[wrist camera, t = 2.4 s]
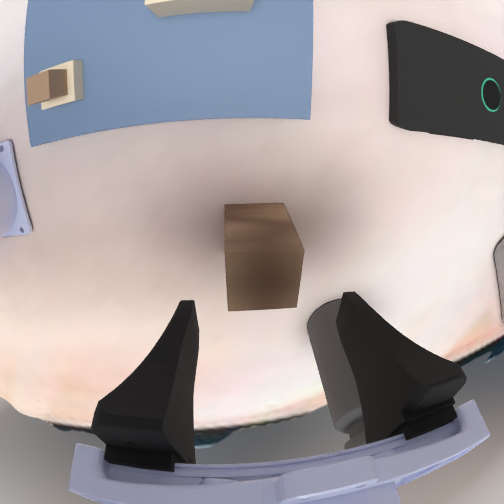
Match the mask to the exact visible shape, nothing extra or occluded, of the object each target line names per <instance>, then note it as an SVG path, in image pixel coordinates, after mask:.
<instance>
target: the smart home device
mask: <svg viewBox="0 0 504 504" xmlns="http://www.w3.org/2000/svg"><path fill="white" fill-rule="evenodd" d="M386 27H387V39H388V55H389V84H390V107H389V121H390V123H391V124H393V125H395V126H397V127H400V128H403V129H406V130H410V131H419V132H427V133H430V134H437V135H445V136H452V137H453V136H454V137H459V138H466V139H472V140H473V139H477V140H482V141H487V142H492V143H497V144H502V145H504V60H503V59H501V58H500V57H498V56H496V55H494V54H492V53H490V52H488V51H486V50H484V49H481V48H479V47H477V46H475V45H473V44H470V43H468V42H466V41H463V40H461V39H459V38H456V37H454V36H451V35H448V34H446V33H443V32H440V31H437V30H434V29H432V28H428V27H425V26H422V25H419V24H416V23H412V22H409V21H396V22H391V23H388V24H387V25H386Z"/></svg>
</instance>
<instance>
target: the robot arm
mask: <svg viewBox="0 0 504 504" xmlns="http://www.w3.org/2000/svg"><path fill="white" fill-rule="evenodd" d="M2 146H3V148H4V150H3V148H2ZM22 228H23V229H24V230H23V229H22ZM31 232H32V226H31V223H30V219H29V216H28V213H27V209H26V206H25V202H24V198H23V194H22V191H21V186H20V182H19V178H18V173H17V169H16V164H15V158H14V153H13V147H12V143H11V141H10V140H6V141H3V142H1V143H0V238H1V237H10V236H19V235H28V234H30V233H31ZM336 325H337V330H338V334H339V338H340V341H341V343H342V346H343V349H344V351H345V354H346V356H347V359H348V362H349V364H350V367H351V369H352V372H353V375H354V378H355V381H356V385H357V389H358V393H359V398H360V403H361V408H362V414H363V421H364V428H365V438H366V445H363V446H359V447H355V448H350V449H346V450H342V451H338V452H332V453H327V454H323V455H317V456H311V457H304V458H298V459H291V460H283V461H273V462H262V463H247V464H196V463H195V447H194V421H193V394H194V383H195V375H196V367H197V359H198V351H199V326H198V321H197V315H196V308H195V302H194V300H182V301H180V302H179V305H178V307H177V309H176V311H175V313H174V315H173V317H172V319H171V320H170V322H169V324H168V326H167V327H166V329H165V331H164V332H163V334H162V336H161V337H160V339H159V340H158V342H157V343H156V345H155V346H154V347H153V349H152V350H151V352H150V353H149V354H148V355H147V357H146V358H145V359H144V360H143V362H142V363H141V364H140V365H139V366H138V367H137V368H136V369H135V371H134V372H133V373H132V374H131V375H130V376H129V377H128V378H126V379H125V380H124V381H123V382H122V383H121V384H120V385H119V386H118V387H117V388H115V389H114V390H113V391H112V392H110V393H109V394H108V395H106V396H105V397H104V398H102V399H101V400H100V401H99V402H98V404H97V407H96V410H95V413H94V417H93V421H92V426H91V428H92V431H93V432H94V434H95V435H96V436H98V437H99V438H100V439H101V440H102V441H103V442H104V443H105V444H106V449H105V450H103V449H101V448H98V447H93V446H89V445H84V444H80V443H77V444H76V448H75V453H74V459H73V464H72V470H71V476H70V483H69V490H70V491H72V492H74V493H76V494H78V495H81V496H83V497H85V498H88V499H90V500H93V501H96V502H100V503H104V504H401V502H400V498H399V494H398V491H397V487H398V486H401V485H403V484H405V483H408V482H410V481H412V480H415V479H417V478H419V477H421V476H424V475H426V474H428V473H430V472H432V471H434V470H436V469H438V468H440V467H442V466H444V465H445V464H447V463H449V462H451V461H453V460H455V459H457V458H459V457H460V456H462V455H464V454H465V453H467V452H468V451H470V450H471V449H473V448H474V447H476V446H477V445H478V444H480V443H481V442H482V441H484V440H485V439H486V438H488V437H489V436H490V433H489V431H488V429H487V427H486V424H485V422H484V420H483V418H482V416H481V414H480V411H479V410H478V407H477V405H476V403H475V401H474V400H471V401H469V402H467V403H465V404H463V405H461V406H459V407H457V408H456V409H454V407H453V404H455V401H454V399H453V397H454V396H455V394H456V393H457V392H458V391H459V390H460V389H461V388H462V386H463V385H464V384H465V382H466V376H465V374H464V372H463V370H462V368H461V366H460V365H459V364H457V363H454V362H452V361H449V360H447V359H444V358H442V357H440V356H438V355H435V354H433V353H431V352H430V351H428V350H426V349H424V348H422V347H421V346H419V345H417V344H416V343H414V342H413V341H411V340H410V339H408V338H407V337H406V336H404V335H403V334H401V333H400V332H399V331H397V330H396V329H395V328H394V327H393V326H391V325H390V324H389V323H388V322H387V321H386V320H384V319H383V318H382V317H381V316H380V315H379V314H378V313H377V312H376V311H375V310H374V309H373V308H371V307H370V306H369V305H368V304H367V303H366V302H365V301H364V300H363V299H362V298H361V297H360V296H359V295H358V294H357V293H356V292H343V296H342V300H341V304H340V307H339V311H338V315H337V318H336ZM258 479H261V480H258ZM239 480H253V481H245V482H239Z"/></svg>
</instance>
